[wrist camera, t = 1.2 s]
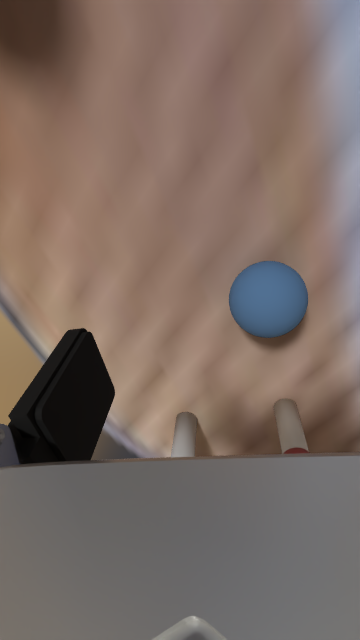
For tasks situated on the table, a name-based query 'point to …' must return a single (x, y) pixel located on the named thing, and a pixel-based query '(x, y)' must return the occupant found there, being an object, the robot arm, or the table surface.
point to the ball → (268, 299)
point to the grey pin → (184, 435)
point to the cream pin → (289, 427)
